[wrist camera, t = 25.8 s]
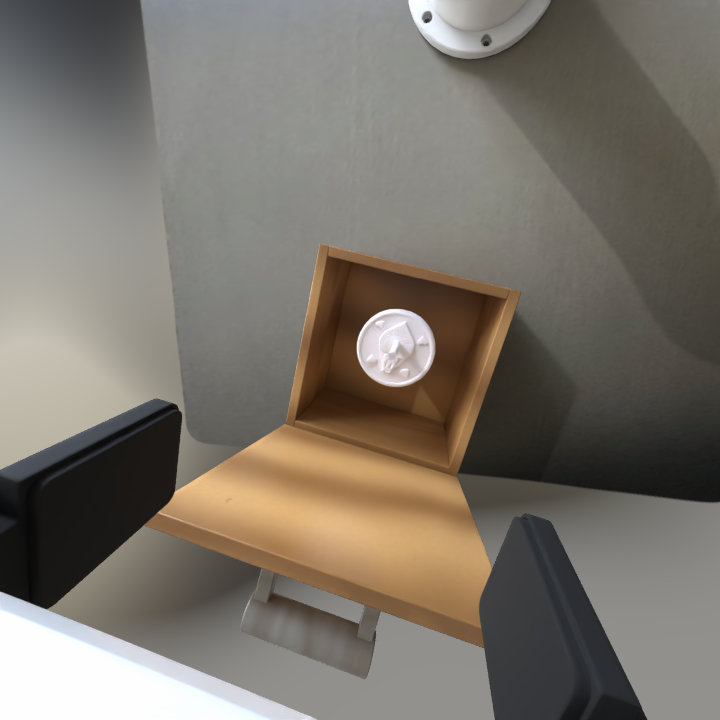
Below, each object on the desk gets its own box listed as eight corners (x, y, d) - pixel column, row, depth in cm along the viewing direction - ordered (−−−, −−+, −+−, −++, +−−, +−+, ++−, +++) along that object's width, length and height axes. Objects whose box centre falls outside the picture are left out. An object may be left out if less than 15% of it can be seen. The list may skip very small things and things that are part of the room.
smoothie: (443, 313, 37) (452, 337, 23) (420, 369, 38) (415, 421, 25) (385, 291, 37) (361, 302, 24) (364, 347, 39) (331, 387, 26)
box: (348, 250, 38) (319, 243, 28) (496, 286, 36) (521, 291, 26) (318, 390, 42) (285, 426, 32) (449, 428, 40) (456, 478, 30)
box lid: (146, 508, 15) (119, 625, 15) (521, 641, 13) (480, 771, 13) (284, 423, 32) (269, 480, 32) (457, 477, 30) (440, 536, 30)
